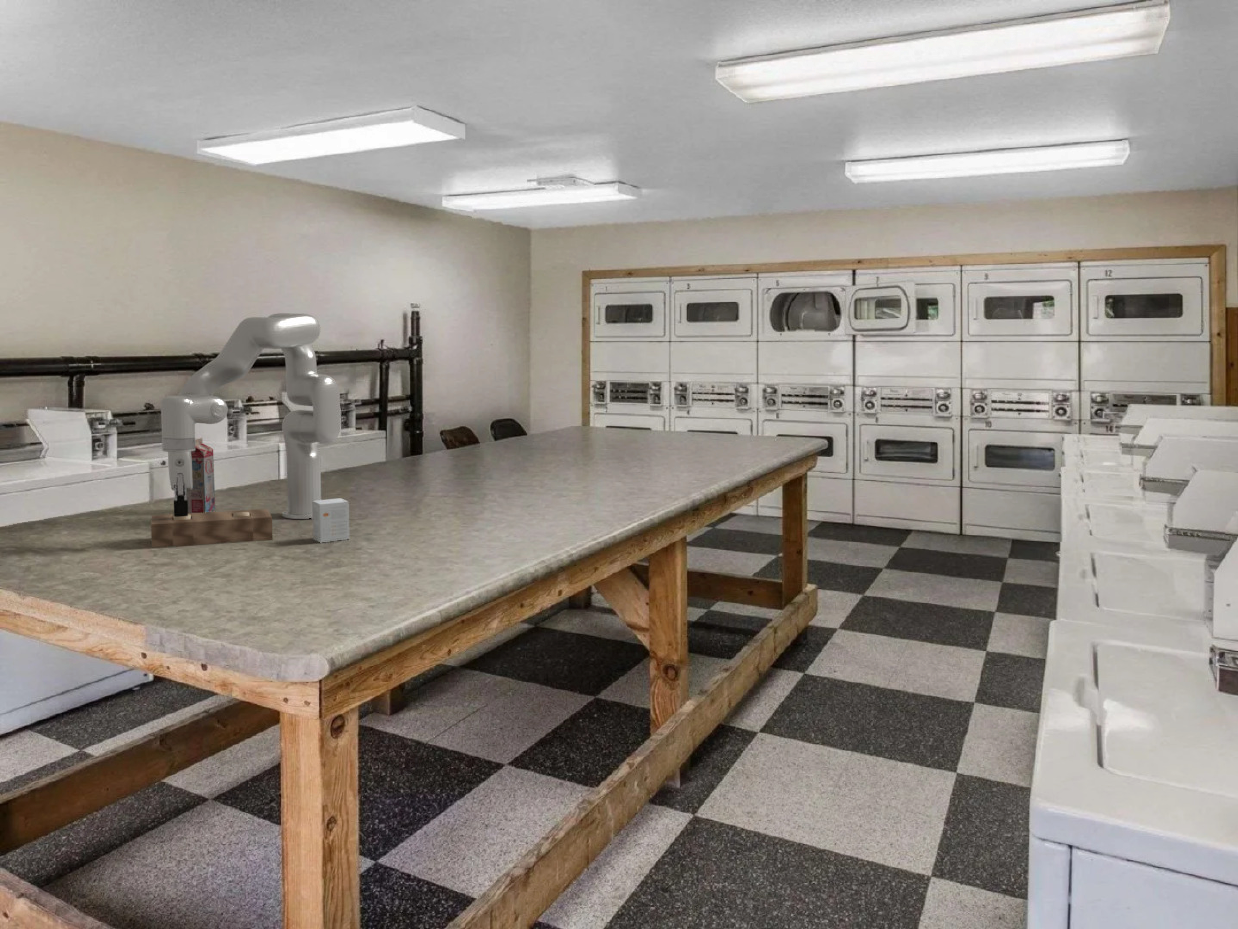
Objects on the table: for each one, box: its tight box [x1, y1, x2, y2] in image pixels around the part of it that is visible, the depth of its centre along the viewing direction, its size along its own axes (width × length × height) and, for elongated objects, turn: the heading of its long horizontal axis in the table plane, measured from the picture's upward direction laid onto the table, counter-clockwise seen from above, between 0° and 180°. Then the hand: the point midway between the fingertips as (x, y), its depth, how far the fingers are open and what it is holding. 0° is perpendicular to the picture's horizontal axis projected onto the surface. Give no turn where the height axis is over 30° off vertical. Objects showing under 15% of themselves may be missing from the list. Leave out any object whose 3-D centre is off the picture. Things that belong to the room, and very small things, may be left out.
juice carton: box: [186, 437, 216, 513], centre depth 260 cm, size 7×7×22 cm
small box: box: [311, 497, 350, 544], centre depth 230 cm, size 8×6×10 cm
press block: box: [150, 508, 274, 549], centre depth 227 cm, size 28×12×6 cm, turn 117°
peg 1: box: [173, 514, 191, 520], centre depth 224 cm, size 4×4×6 cm
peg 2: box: [233, 512, 250, 517], centre depth 230 cm, size 4×4×6 cm
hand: (181, 515), depth 223 cm, fingers closed
